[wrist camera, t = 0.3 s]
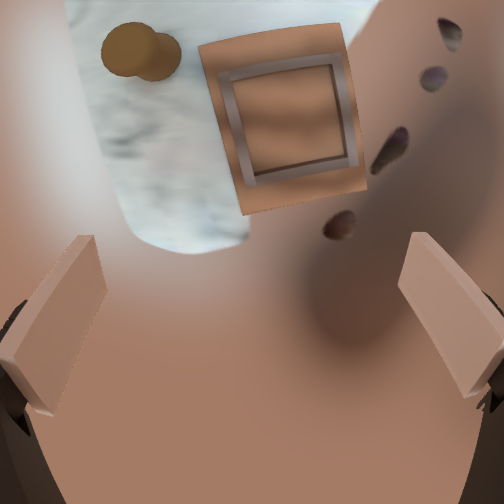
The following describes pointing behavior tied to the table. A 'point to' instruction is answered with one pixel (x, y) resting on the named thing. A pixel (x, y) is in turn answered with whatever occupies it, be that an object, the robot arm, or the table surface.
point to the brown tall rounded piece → (140, 52)
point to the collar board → (286, 115)
